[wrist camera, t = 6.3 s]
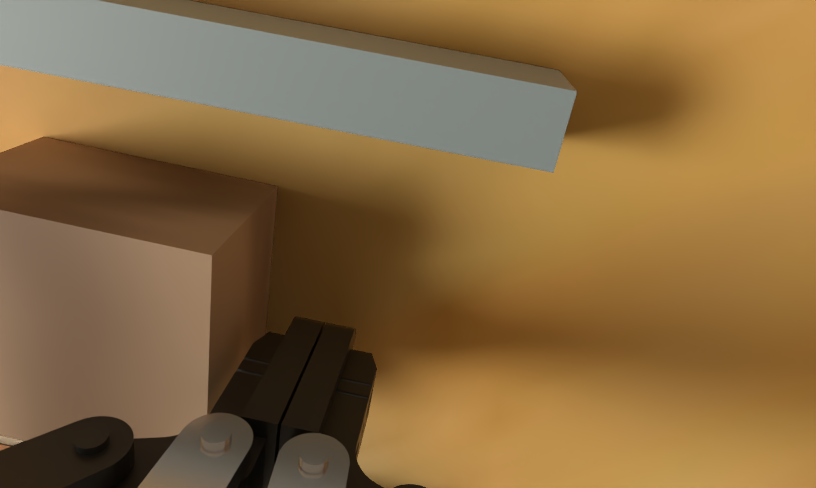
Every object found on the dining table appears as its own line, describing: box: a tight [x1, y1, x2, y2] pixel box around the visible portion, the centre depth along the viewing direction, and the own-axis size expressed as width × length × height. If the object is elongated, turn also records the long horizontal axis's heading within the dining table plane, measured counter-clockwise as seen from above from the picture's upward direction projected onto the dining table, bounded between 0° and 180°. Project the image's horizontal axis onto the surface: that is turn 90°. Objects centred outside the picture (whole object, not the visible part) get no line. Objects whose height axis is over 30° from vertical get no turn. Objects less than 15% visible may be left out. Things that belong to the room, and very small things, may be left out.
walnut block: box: [0, 137, 278, 441], centre depth 14 cm, size 6×6×4 cm
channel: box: [0, 0, 577, 173], centre depth 14 cm, size 11×15×2 cm
